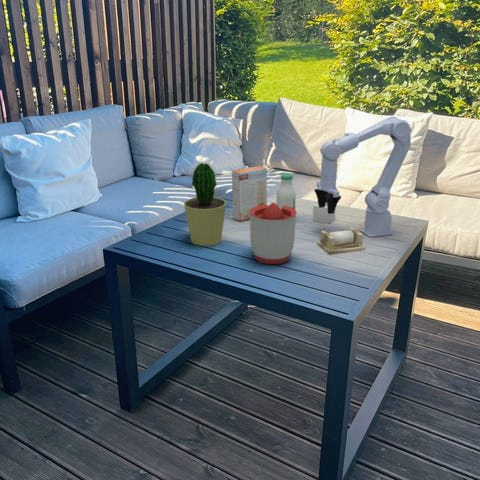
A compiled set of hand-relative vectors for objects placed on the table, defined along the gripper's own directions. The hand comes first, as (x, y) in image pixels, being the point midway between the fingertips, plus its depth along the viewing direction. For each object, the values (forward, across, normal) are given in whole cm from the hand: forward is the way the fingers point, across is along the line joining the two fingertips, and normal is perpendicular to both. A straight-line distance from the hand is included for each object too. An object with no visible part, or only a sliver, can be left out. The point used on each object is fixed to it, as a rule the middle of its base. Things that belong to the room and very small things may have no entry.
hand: (326, 210), depth 192 cm
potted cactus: (+10, -8, -45) cm, 47 cm away
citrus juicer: (+10, +14, -27) cm, 32 cm away
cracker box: (+10, -28, -21) cm, 37 cm away
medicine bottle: (+10, -15, +7) cm, 19 cm away
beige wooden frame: (+10, +13, 0) cm, 16 cm away
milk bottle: (+10, -18, -9) cm, 23 cm away
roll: (+9, +13, 0) cm, 15 cm away
